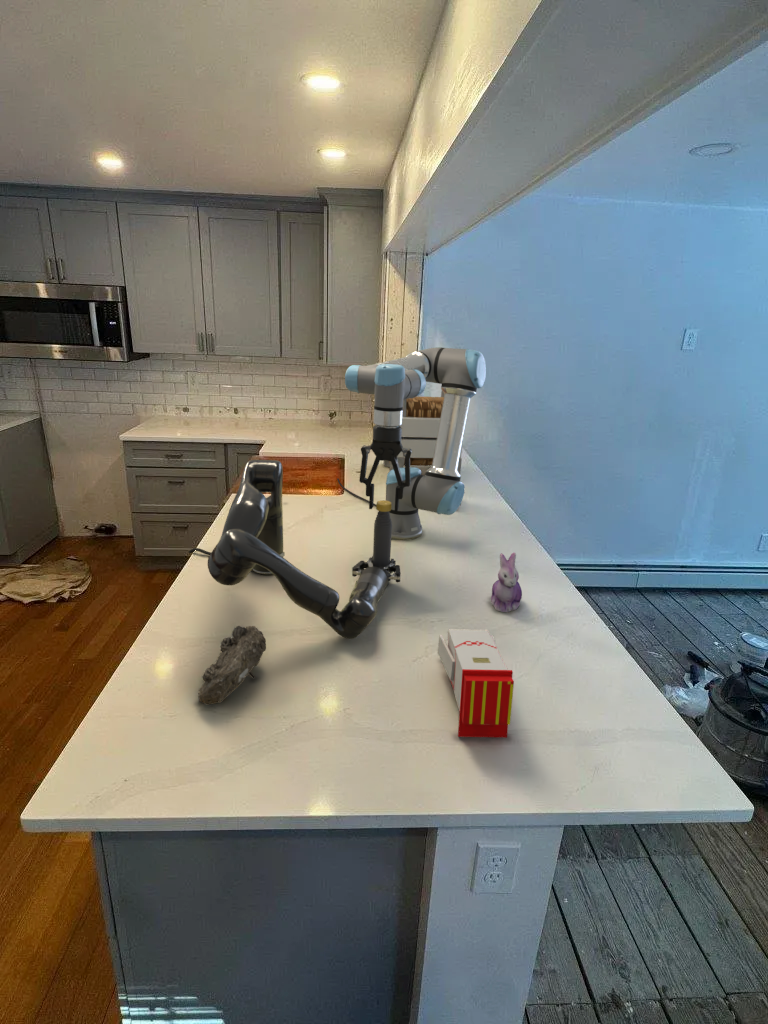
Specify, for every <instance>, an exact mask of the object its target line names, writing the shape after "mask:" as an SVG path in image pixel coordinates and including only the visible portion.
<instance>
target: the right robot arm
mask: <svg viewBox="0 0 768 1024" xmlns="http://www.w3.org/2000/svg"><path fill="white" fill-rule="evenodd" d="M486 376H487V365H486V359H485V356H484V355H483V353H482V352H481V351H479V350H476V349H475V350H474V349H469V348H453V347H441V346H439V347H428V348H425V349H421V350H416V351H412V352H409V353H408V354H407V355H406V356H405V357H404V356H403V357H400V358H396V359H391V360H387V361H383V362H377V363H374V364H369V365H361V364H352V365H350V366H348V368H347V369H346V371H345V375H344V384H345V387H346V389H347V390H348V391H349V392H352V393H357V394H366V395H374V400H373V401H374V404H373V421H372V423H373V424H374V425H373V426H372V442H371V444H369V445H366V444H365V445H364V444H363V445H362V446H361V448H360V453H361V463H360V471H359V479H358V481H359V483H361V484H364V485H365V496H366V497H369V499H366V498H364V497H361V496H360V495H358V494H356V493H354V492H352V491H351V490H349V489H347V488H346V487H345V486H344V485H343V484H342V482H341V481H340V479H339V478H338V477H337V478H336V480H337V482H338V485H339V486H340V487H341V488H342V489H343V490H344V491H346V492H347V493H349V494H350V495H351V496H354V497H356V498H358V499H360V500H362V501H364V502H366V503H368V509H369V510H373V509H374V508H373V507H376V504H377V503H374V502H375V501H374V499H375V495H374V494H375V483H372V482H373V479H374V477H375V475H376V472H377V470H378V467H379V464H380V462H381V461H383V462H384V460H387V461H391V463H392V465H393V470H391V471H390V470H389V471H388V473H387V475H386V480H385V501H390V502H391V504H392V508H391V511H389V513H390V518H391V521H392V535H391V540H395V541H410V540H415V539H418V538H420V537H421V536H422V535H423V525H422V524H421V518H420V515H419V510H421V511H426V512H429V513H436V514H438V515H445V516H451V515H453V514H455V513H456V512H457V511H458V509H459V508H460V506H461V505H462V502H463V499H464V496H465V488H466V487H465V484H464V482H462V481H461V478H462V476H461V474H459V473H458V471H457V469H458V464H459V458H460V453H461V447H462V448H463V443H462V442H464V437H465V436H464V435H465V430H466V425H467V420H468V414H469V408H470V403H471V399H472V398H473V397H475V396H476V395H477V392H478V391H477V390H478V389H481V388H483V387H484V384H485V382H486ZM427 383H432V384H439V385H441V386H440V390H441V392H442V391H443V392H444V400H443V406H442V412H441V417H440V423H439V429H438V434H437V440H436V445H435V451H434V457H433V462H432V465H430V466H429V468H428V469H426V471H425V474H422V470H421V468H419V467H414V466H410V456H411V453H412V449H406V448H403V446H402V444H401V435H402V428H401V427H400V426H401V425H402V416H403V400H404V399H409V398H415V397H417V396H418V397H419V396H420V395H421V394H423V393H424V391H425V390H426V388H427V387H426V386H427ZM371 451H372V453H373V454H374V455H375V458H374V461H373V464H372V466H371V469H370V472H369V474H368V476H367V468H368V466H367V465H368V459H369V454H370V453H371ZM400 452H403V456H404V457H405V465H404V468H399V464H398V459H397V456H398V455H399V454H400ZM461 454H462V453H461ZM366 476H367V477H366ZM460 504H461V505H460Z"/></svg>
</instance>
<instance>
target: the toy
mask: <svg viewBox="0 0 768 1024" xmlns="http://www.w3.org/2000/svg"><path fill="white" fill-rule="evenodd" d="M446 640H447V643H446V641H445V639H444V636H443V635H442V634H439V637H438V646H437V656H438V657H439V659H440V661H441V663H442V666H443V668H444V670H445V672H446V674H447V677H448V679H449V681H450V684H451V687H452V690H453V693H454V697H455V701H456V705H457V708H458V711H459V714H458V715H459V716H458V730H457V731H458V732H457V737H458V738H508V731H509V726H510V725H511V717H512V707H513V697H514V696H513V695H514V684H515V680H514V679H513V673H514V671H513V670H512V669H508V667H507V665H506V662H505V661H504V659H503V658H502V655H501V653H500V651H499V649H498V647H497V643H496V639H495V637H494V635H493V634H491V632H490V631H489V629H467V628H466V629H465V628H463V629H461V628H460V629H459V628H448V630H447V639H446Z"/></svg>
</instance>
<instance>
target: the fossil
mask: <svg viewBox="0 0 768 1024" xmlns="http://www.w3.org/2000/svg"><path fill="white" fill-rule="evenodd" d="M231 636H232V637H231ZM231 636H228V637H225V638H223V639H222V640H221V641H220V646H219V647H220V653H219V655H218V656H217V659H216V661H215V663H212V664H211V665H209V666H208V667H207V668H205V670H204V672H203V673H202V677H201V678H202V680H203V684H202V685H201V687H199V688H198V693H197V694H198V699H199V700H198V701H199V703H204V705H212V704H217V703H219V704H220V703H222V702H223V701H224V700H226V698H227V697H228V696H229V695H231V694H232V693H233V692H234V691H235V690H236V689H237V688H238V687H239V686H240V685H241V684H243V682H244V681H245V679H246V677H248V676H250V677H251V678H252V679H255V678H256V676H255V675H254V674H253V673H252V670H253V669H254V667H256V666H257V665H258V664H259V663H260V661H261V659H262V656H263V655H264V652H265V651H266V650H267V643H266V641H267V640H266V638H265V636H264V633H263V632H262V630H260V629H258V627H256V625H248V626H241V625H236V626H235V627H234V629H233V631H232V633H231Z"/></svg>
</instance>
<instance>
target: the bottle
mask: <svg viewBox="0 0 768 1024" xmlns="http://www.w3.org/2000/svg"><path fill="white" fill-rule="evenodd" d="M373 524H374V525H373V547H372V556H373V566H374V567H383V566H385V565H389V563H390V560H391V553H392V539H391V535H392V521H391V518H390V513H389V511H388V512H381V511H377V514H376V517H375V520H374V523H373ZM389 584H390V581H389V582H388V583H387V585H386V587H388V586H389Z"/></svg>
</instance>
